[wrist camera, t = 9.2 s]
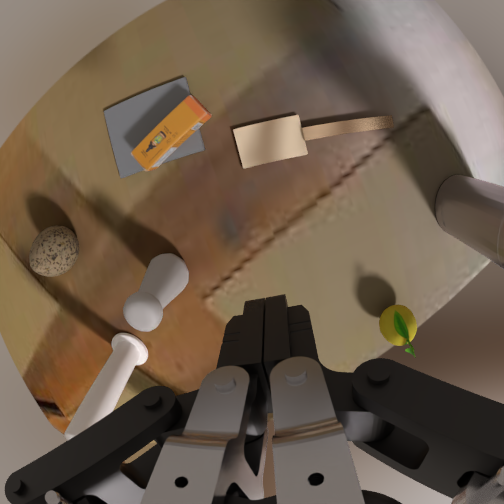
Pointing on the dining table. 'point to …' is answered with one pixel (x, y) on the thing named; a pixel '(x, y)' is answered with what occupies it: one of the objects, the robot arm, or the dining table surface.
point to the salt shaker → (156, 291)
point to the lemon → (398, 326)
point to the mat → (146, 124)
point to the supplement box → (170, 133)
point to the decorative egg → (54, 251)
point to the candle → (108, 383)
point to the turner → (293, 137)
